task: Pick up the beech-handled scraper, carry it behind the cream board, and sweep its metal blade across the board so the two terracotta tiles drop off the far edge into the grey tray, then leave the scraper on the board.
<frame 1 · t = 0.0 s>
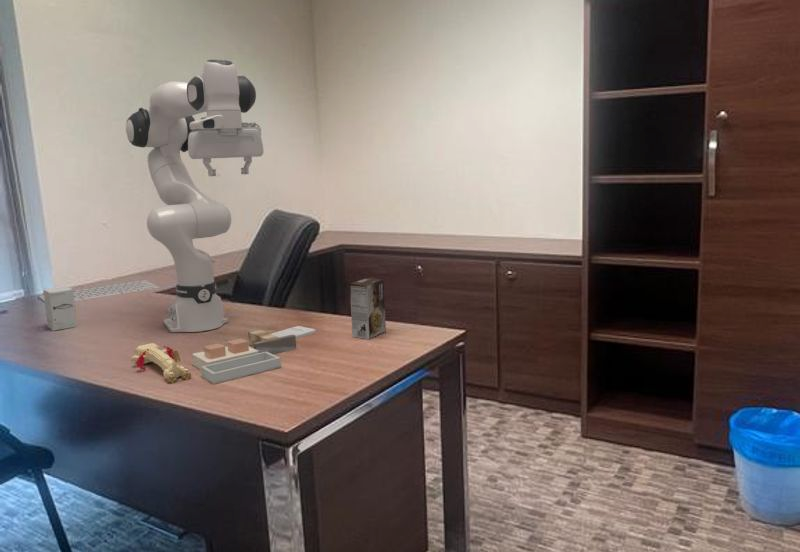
hand: (228, 175, 184), 48 cm above the table, tool pointing down, fingers open, 8 cm apart
supplement box: (62, 327, 223), on the table
board: (226, 363, 179), on the table
beige long curved piece: (161, 371, 176), on the table
computer keyboard: (101, 294, 277), on the table
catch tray: (241, 371, 172), on the table
coffee box: (369, 335, 202), on the table
scraper: (264, 348, 192), on the table
tile b: (238, 350, 179), point 3 cm above the table, touching board
external hard drive: (291, 337, 204), on the table
tile a: (215, 355, 175), point 3 cm above the table, touching board
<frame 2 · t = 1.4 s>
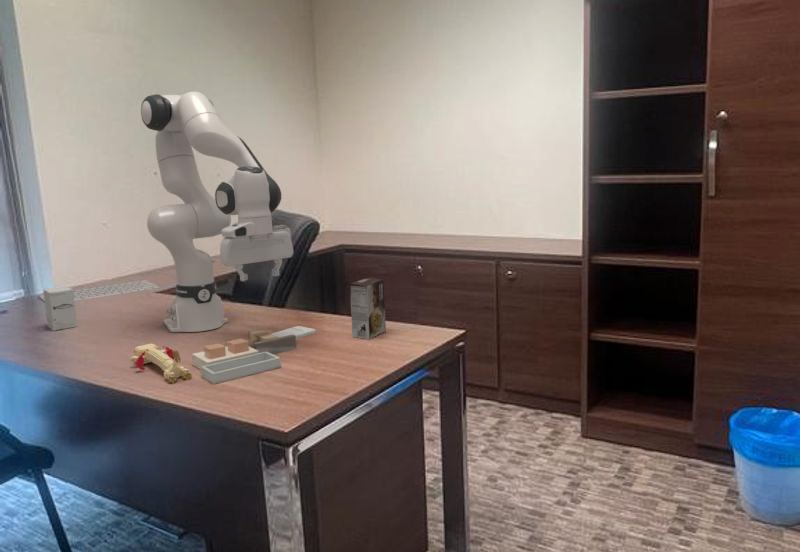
hand: (260, 278, 186), 20 cm above the table, tool pointing down, fingers open, 8 cm apart
nothing on the table moved.
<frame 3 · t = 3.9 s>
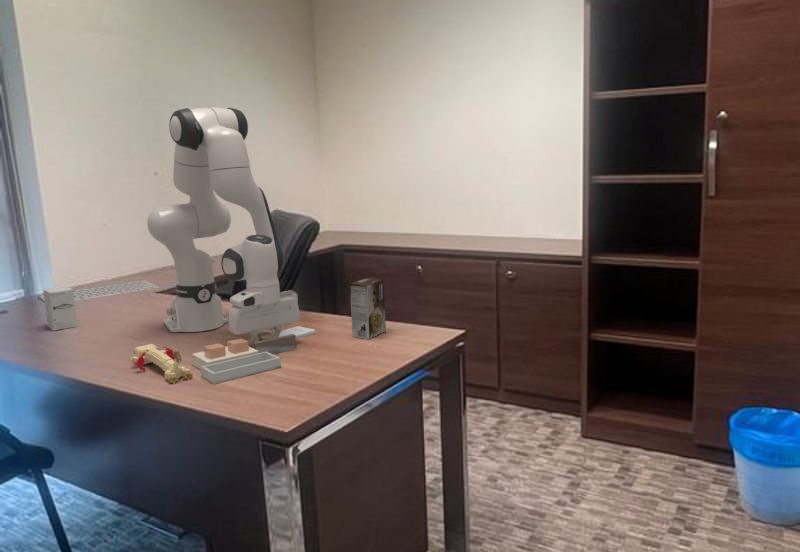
hand: (267, 343, 190), 2 cm above the table, tool pointing down, fingers closed on scraper, 3 cm apart
scraper: (264, 347, 192), on the table, touching gripper
everything else where it was.
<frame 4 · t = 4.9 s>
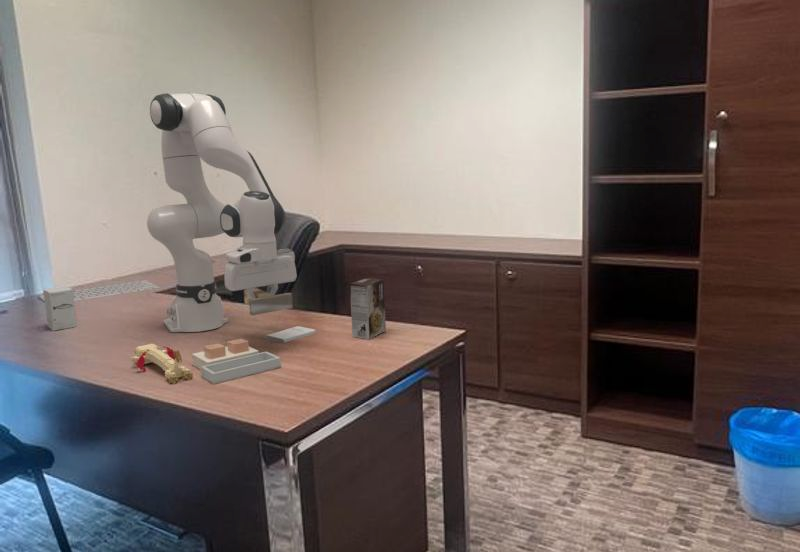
hand: (263, 301, 188), 13 cm above the table, tool pointing down, fingers closed on scraper, 3 cm apart
scraper: (260, 306, 190), point 12 cm above the table, touching gripper
everything else where it was.
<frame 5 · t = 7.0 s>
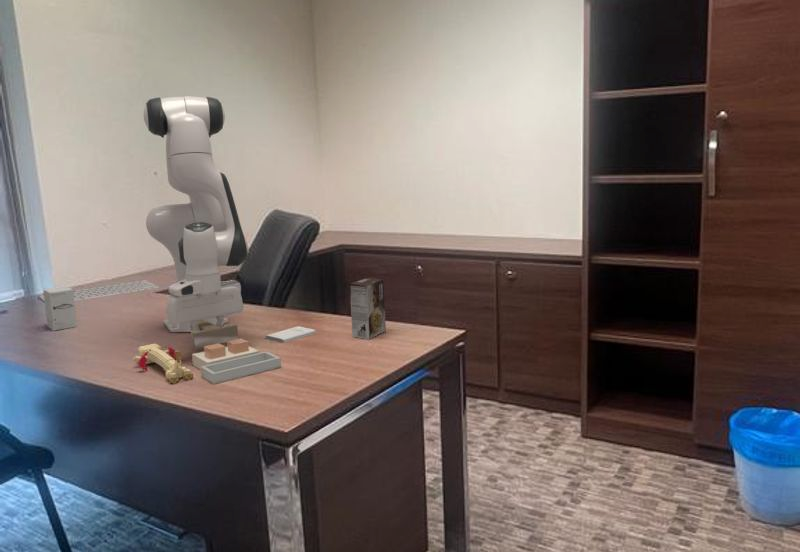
hand: (208, 334, 185), 6 cm above the table, tool pointing down, fingers closed on scraper, 3 cm apart
scraper: (206, 338, 187), point 4 cm above the table, touching gripper
everything else where it was.
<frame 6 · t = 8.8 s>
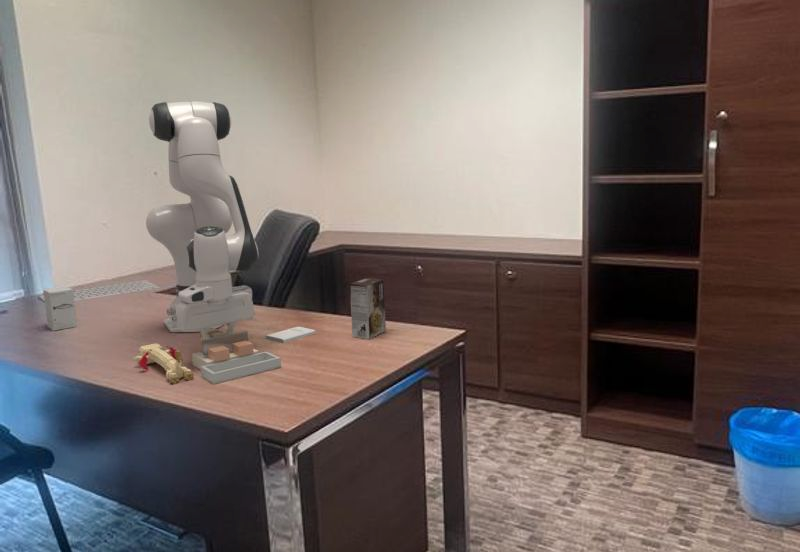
hand: (219, 341, 180), 5 cm above the table, tool pointing down, fingers closed on scraper, 3 cm apart
scraper: (215, 346, 182), point 3 cm above the table, touching gripper, tile a, tile b
tile b: (243, 352, 177), point 3 cm above the table, touching board, scraper
tile a: (219, 358, 173), point 3 cm above the table, touching scraper
everything else where it was.
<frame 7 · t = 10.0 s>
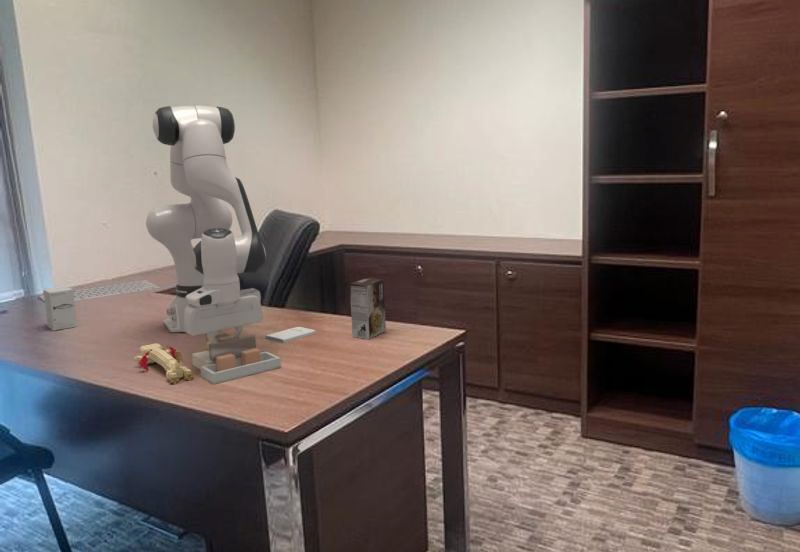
hand: (226, 345, 177), 5 cm above the table, tool pointing down, fingers closed on scraper, 3 cm apart
scraper: (222, 350, 179), point 3 cm above the table, touching gripper
tile b: (248, 357, 175), point 2 cm above the table, tilted 90°, touching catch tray
tile a: (223, 362, 171), point 2 cm above the table, tilted 90°, touching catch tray
when the fingers open (5 cm above the table, at t = 11.2 s): scraper stays where it is, resting on board.
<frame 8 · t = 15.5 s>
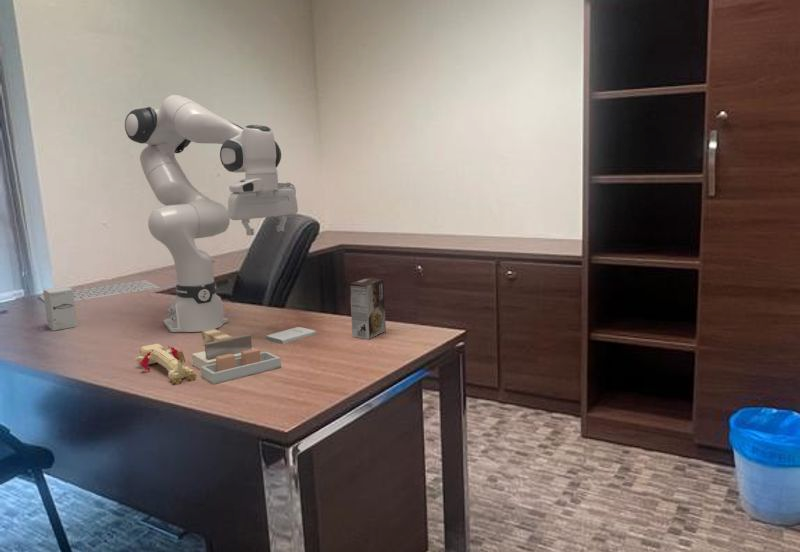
hand: (265, 233, 194), 31 cm above the table, tool pointing down, fingers open, 8 cm apart
scraper: (218, 348, 181), point 3 cm above the table, touching board
at the end: tile a inside the target area on the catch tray (4.3 cm from its centre), point 2.4 cm above the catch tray's base; tile b inside the target area on the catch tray (4.2 cm from its centre), point 2.4 cm above the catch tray's base; the gripper is holding nothing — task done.
